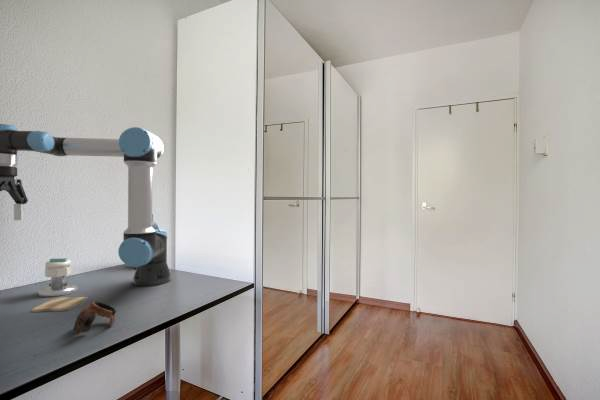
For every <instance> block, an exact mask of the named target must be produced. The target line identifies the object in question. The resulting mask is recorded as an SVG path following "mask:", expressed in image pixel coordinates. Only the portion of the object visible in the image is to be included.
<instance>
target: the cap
mask: <svg viewBox="0 0 600 400" xmlns="http://www.w3.org/2000/svg"><path fill="white" fill-rule="evenodd" d="M72 266H73V265H72V260H71V259H68V257H65V258H63V257H60V258H59V257H56V258H50V259H49V261H46V262H45V268H44V276H45V277H46V278H51V277H59V276H65V275H66V276H68V275H70V274H72V273H73V272H72V271H73V270H72V269H73V268H72Z"/></svg>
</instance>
